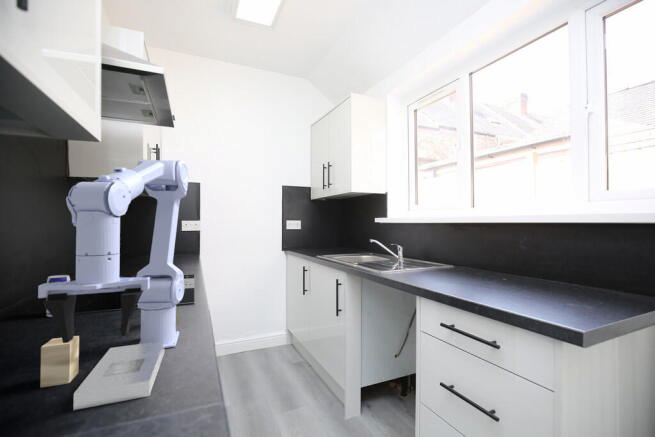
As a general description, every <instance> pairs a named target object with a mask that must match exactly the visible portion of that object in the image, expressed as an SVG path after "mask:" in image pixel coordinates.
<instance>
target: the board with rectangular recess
mask: <svg viewBox="0 0 655 437" xmlns="http://www.w3.org/2000/svg"><path fill="white" fill-rule="evenodd" d="M165 349H166V348H165V341H160V342H153V343H145V344H139V343H138V344H131V345H123V346H116V347H115V346H114V347H110V348H109V349H108V350H107V352H105V354H104V355H103V356H102V358H101V359H100V360H99V361H98V363H97V364H96V365H95V367H94V368H93V369H92V370H91V371H90V373H89V374H88V375H87V376H86V378H85V379H84V380H83V381H82V382H81V383H80V385H79V387H77V389H76V390H75V391H74V393H73V411H76V410H81V409H87V408H92V407H98V406H102V405H103V406H104V405H108V404H113V403H114V404H115V403H119V402H125V401H129V400H130V401H131V400H135V399H141V398H145V397H146V398H147V397H150V396H151V393H152V389H153V387H154V383H155V380H156V378H157V375H158V373H159V369H160V366H161V363H162V360H163V358H164V356H165V351H166V350H165Z"/></svg>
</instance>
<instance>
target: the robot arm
mask: <svg viewBox="0 0 655 437" xmlns="http://www.w3.org/2000/svg"><path fill="white" fill-rule="evenodd" d="M188 170H189V169H188V166H187V164H186V163H185V162H184V160H181V159H178V160H166V159H165V160H162V159H159V160H158V159H155V160H154V159H153V160H152V159H145V158H144V159H141V160H138V161H137V166H135V167H133V168H132V169H129V168H126V167H124V166H122V167H121V166H117V167H114V168H113V170H112V171H113V172H111V173H108V174H102V175H99V176H98V179H96V180H93V181H81V182H80V181H79V182H77V183H76V184H75V185H72V187H71V188H70V190H69V192H68V195H67V196H66V198H65V200H66V206H67V208H68V210H69V212H70V214H71V223H72V224H73V225H72V226H74V227H76V228H75V229H76V233H75V234H76V235H75V243H76V244H75V280H70V281H67V282H57V283H47V282H46V283H41V284H40V285H38V286H37V287H38V288H37V289H38V290H37V291H38V292H37V293H38V294H37V298H38V299H43V298H44V299H46V300H45V301H44V302H43V304H44V305H43V306H44V308H45V309H46V310H48V311H49V313H50V314H51V315H52V317H51V318H53V320H54V322H55V323H56V326H57V329H58V330H59V333H60V336H61V337H60V338H62V341H63V343H68V342H69V341H71V340H72V339H73V337H74V336H75V316H74V315H75V308H76V302H77V295H86V294H87V295H88V294H89V295H90V294H99V293H101V294H102V293H115V292H122V294H120V303H121V304H120V306H121V326H120V327H121V328H120V335H121V337H124V336H127V335H129V333H130V328H131V327H130V326H131V322H132V319H133V315H134V312H135V309H136V307H137V309H140V341H139V343H138V344H145V343H153V342H160V341H165V349H169V348H175V347H176V346H177V342H178V339H179V335H180V331H178V330H176V327H177V325H176V307H177V304H179V303H180V302H181V301H182V300H183V297H184V294H185V282H184V280H185V279H184V278H185V277H184V272H183V271H182V270H181V269H180V268H178V266H176V265H175V264H174V257H175V255H174V254H175V246H176V245H175V244H176V236H177V228H178V220H179V219H178V218H179V212H180V211H179V210H180V202H181V199H183V198H185V197H186V196H187V191H188V186H189V176H190V175H189V171H188ZM144 190H145V191H146V193H147V194H148V196H150V197H152V198H154V199H156V201H157V202H156V203H157V205H156V212H155V218H154V219H155V220H154V227H153V233H152V234H153V235H152V242H151V249H150V256H149V263H148V264H147V265H145V266H144V267H143V268H142V269H140V270H139V271H137V273H136V277H120V261H121V260H120V258H121V257H120V256H121V253H120V251H121V250H120V248H121V247H120V246H121V242H120V241H121V236H120V235H121V216H123V215H126V212H127V211H128V208H129V205H130V204H131V201H133V200H134V199H135V198H137V197H139V195H141V194H142V193H143V192H144ZM47 297H48V299H47Z"/></svg>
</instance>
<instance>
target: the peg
mask: <svg viewBox="0 0 655 437" xmlns="http://www.w3.org/2000/svg"><path fill="white" fill-rule="evenodd" d="M79 355H80V335H74V337H73V339H72V340H71V341H69V342H68V343H63V341H62V337H57V338H51V339H50V340H48V342H46V343H45V344H43V345H42V346H41V347H40V380H39V381H40V383H39V384H40V385H39V386H40V388H46V387H53V386H60V385H66V384H70V383H71V382H72V381H73V380H74V379H75V377H77V375H78V374H79V371H80V370H79V360H80V358H79V357H80V356H79Z"/></svg>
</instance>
